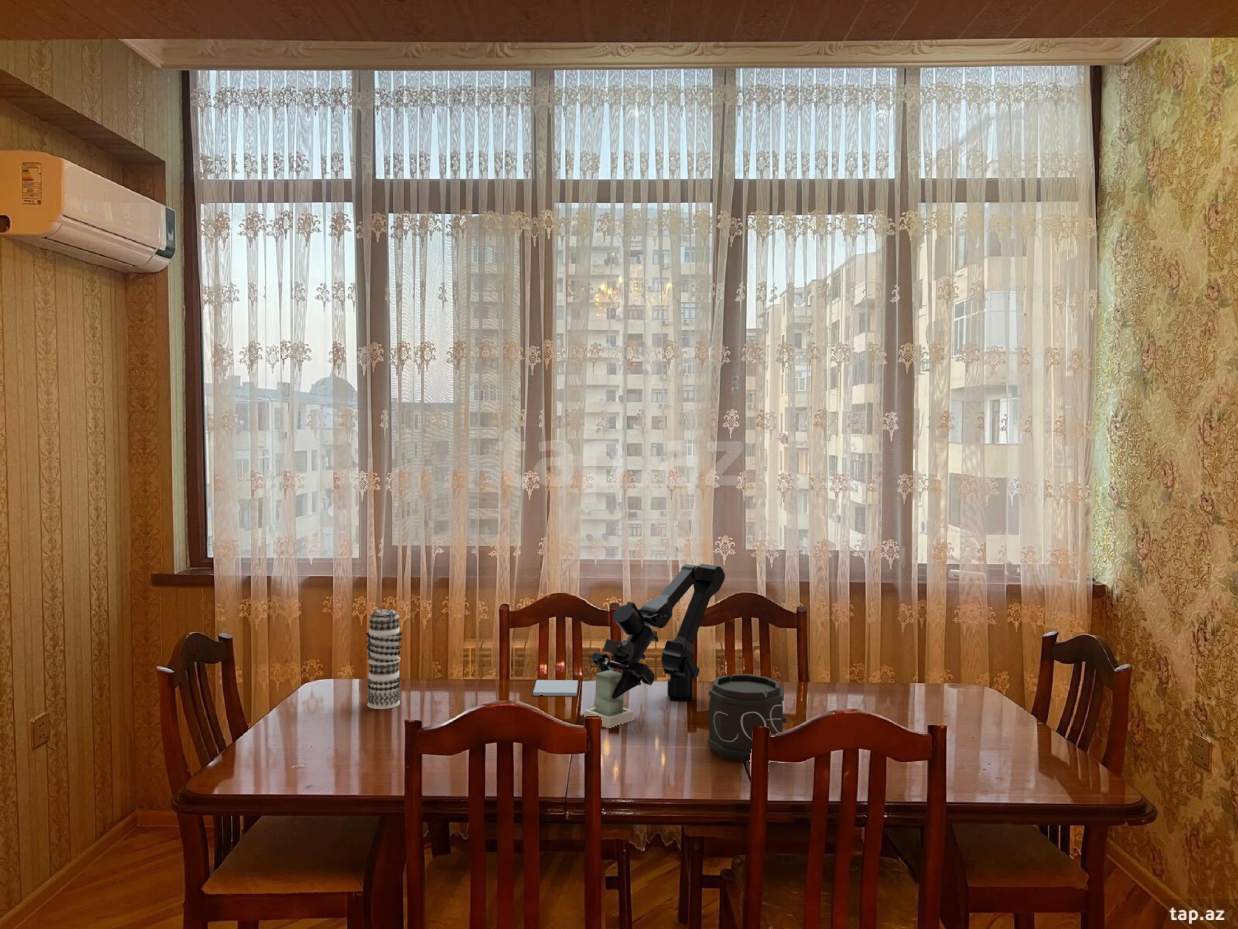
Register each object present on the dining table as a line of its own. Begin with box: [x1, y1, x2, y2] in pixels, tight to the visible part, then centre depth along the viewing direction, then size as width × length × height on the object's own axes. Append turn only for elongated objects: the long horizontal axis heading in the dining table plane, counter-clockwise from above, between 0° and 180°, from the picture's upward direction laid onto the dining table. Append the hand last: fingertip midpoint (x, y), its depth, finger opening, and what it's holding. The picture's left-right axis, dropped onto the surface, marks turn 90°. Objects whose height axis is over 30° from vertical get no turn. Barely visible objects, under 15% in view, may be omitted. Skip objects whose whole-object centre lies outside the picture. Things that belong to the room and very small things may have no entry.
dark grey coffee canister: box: [707, 673, 788, 763], centre depth 201 cm, size 18×18×16 cm
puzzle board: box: [583, 706, 635, 729], centre depth 221 cm, size 9×9×2 cm
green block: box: [594, 670, 624, 717], centre depth 221 cm, size 5×5×12 cm
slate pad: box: [532, 679, 579, 697], centre depth 247 cm, size 12×12×1 cm
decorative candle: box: [365, 608, 403, 710], centre depth 231 cm, size 9×9×25 cm
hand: (605, 695), depth 220 cm, fingers closed on green block, 5 cm apart
